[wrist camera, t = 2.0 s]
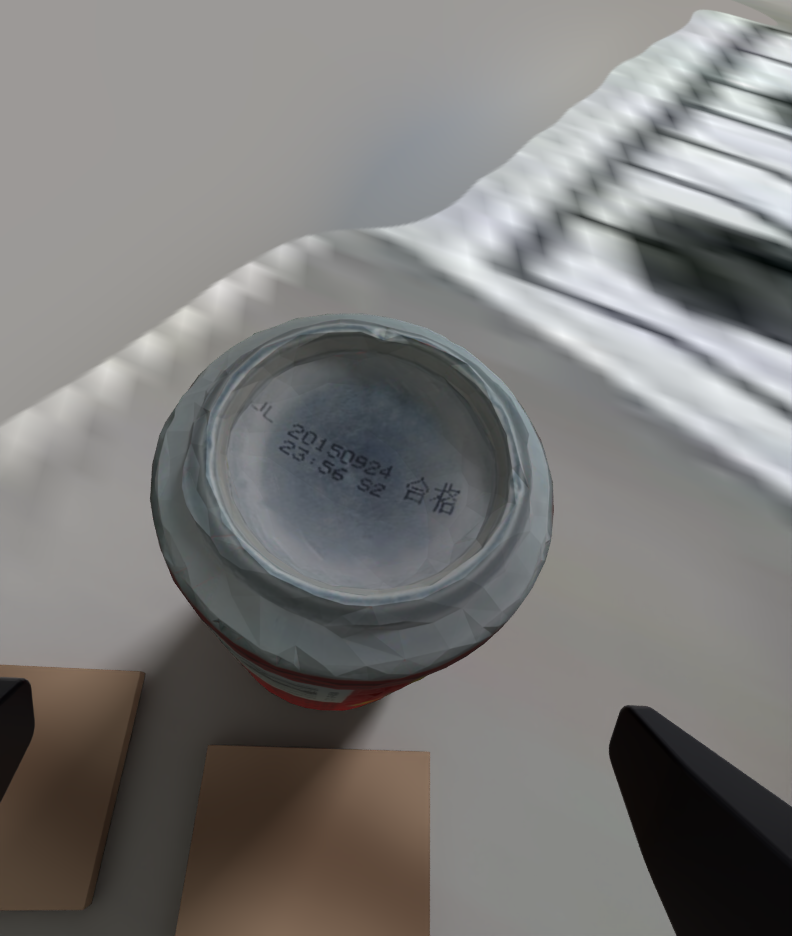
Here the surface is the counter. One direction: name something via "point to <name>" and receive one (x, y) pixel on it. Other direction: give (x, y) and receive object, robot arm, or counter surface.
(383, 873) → the brown wooden board
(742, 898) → the robot arm
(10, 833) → the lane broken
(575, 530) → the counter surface
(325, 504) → the soda can
